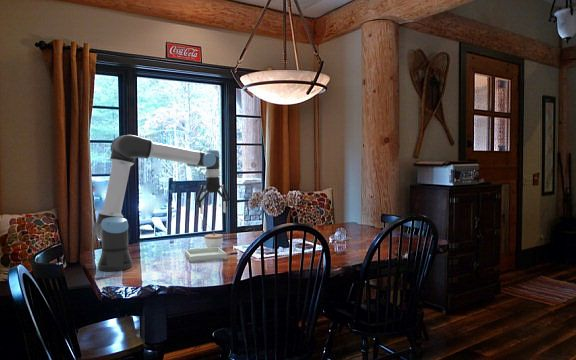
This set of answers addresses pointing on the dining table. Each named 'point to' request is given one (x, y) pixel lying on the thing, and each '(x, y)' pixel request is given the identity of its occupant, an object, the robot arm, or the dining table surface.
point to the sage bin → (205, 254)
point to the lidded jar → (213, 240)
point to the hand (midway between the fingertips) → (213, 213)
